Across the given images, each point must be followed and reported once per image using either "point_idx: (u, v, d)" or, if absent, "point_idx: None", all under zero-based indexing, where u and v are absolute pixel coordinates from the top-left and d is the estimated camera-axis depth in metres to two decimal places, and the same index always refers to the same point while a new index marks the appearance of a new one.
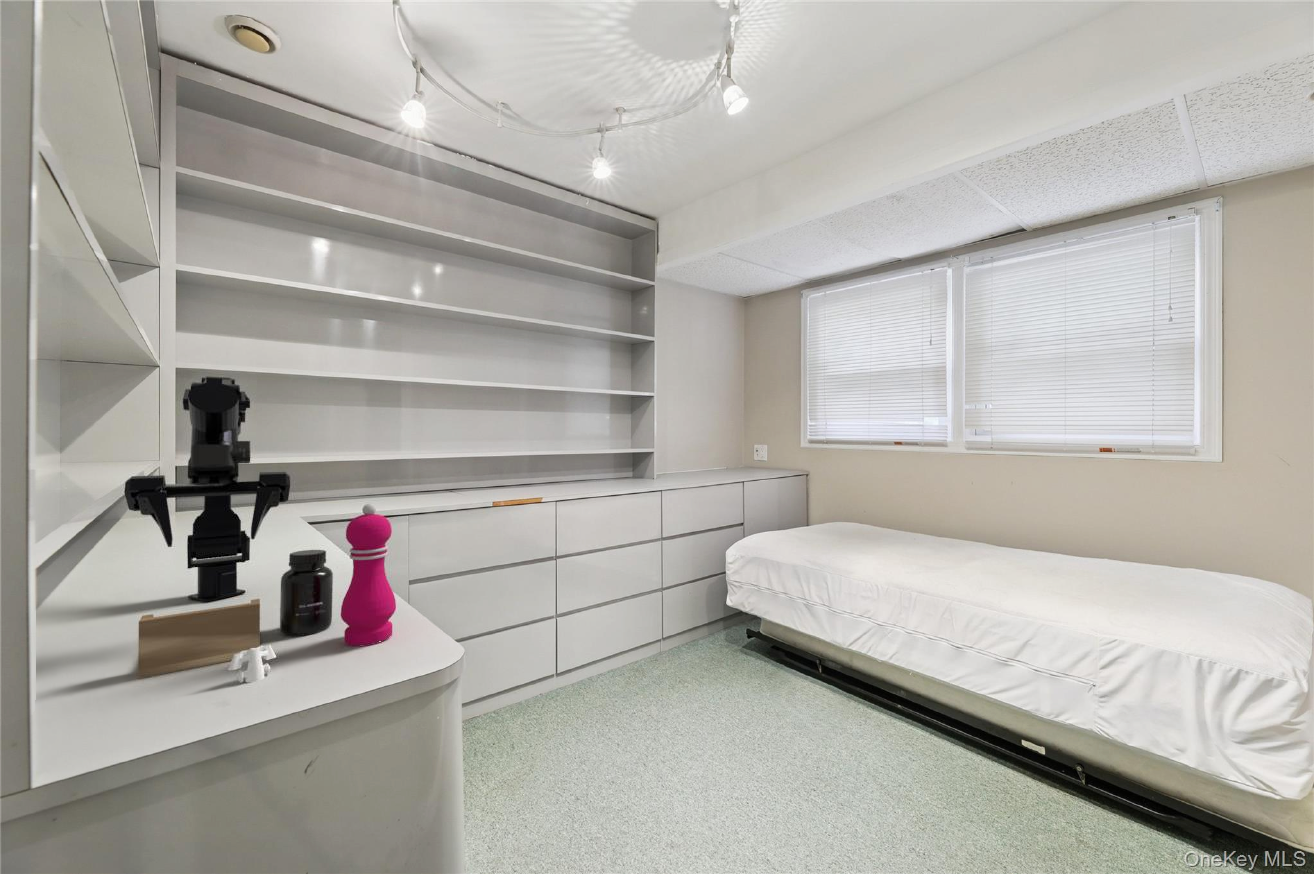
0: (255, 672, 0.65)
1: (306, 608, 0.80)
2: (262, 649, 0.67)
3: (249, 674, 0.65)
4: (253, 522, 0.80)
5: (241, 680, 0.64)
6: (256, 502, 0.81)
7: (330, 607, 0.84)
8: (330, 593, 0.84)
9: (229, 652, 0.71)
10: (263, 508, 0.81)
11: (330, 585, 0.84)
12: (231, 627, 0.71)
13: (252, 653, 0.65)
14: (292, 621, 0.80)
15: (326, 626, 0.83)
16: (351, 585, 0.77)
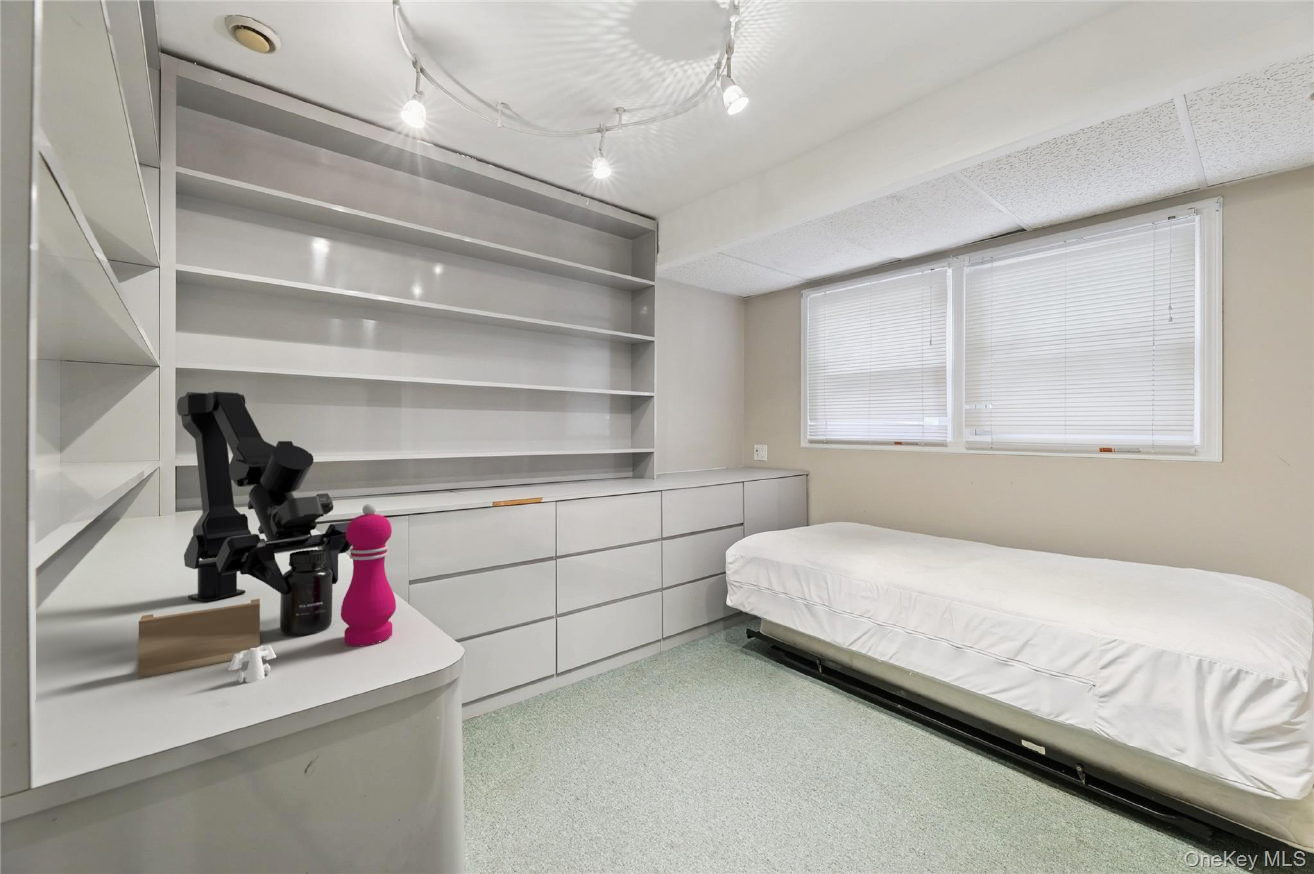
0: (255, 672, 0.65)
1: (306, 608, 0.80)
2: (262, 649, 0.67)
3: (250, 674, 0.65)
4: (333, 568, 0.86)
5: (241, 680, 0.64)
6: (330, 550, 0.87)
7: (330, 607, 0.84)
8: (330, 593, 0.84)
9: (229, 652, 0.71)
10: (337, 555, 0.88)
11: (330, 585, 0.84)
12: (231, 627, 0.71)
13: (252, 653, 0.65)
14: (292, 621, 0.80)
15: (326, 626, 0.83)
16: (351, 585, 0.77)
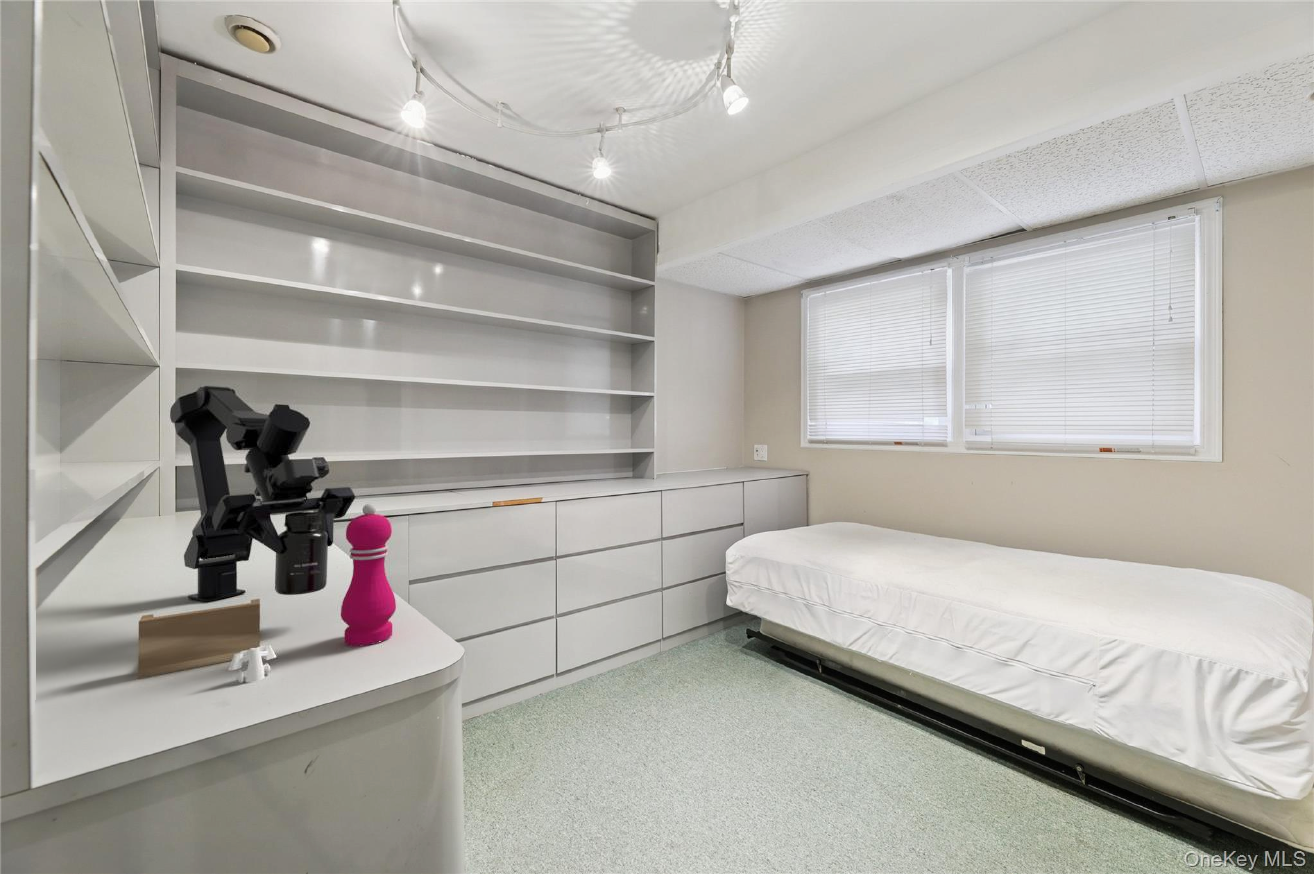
0: (255, 672, 0.65)
1: (301, 568, 0.81)
2: (262, 649, 0.67)
3: (250, 674, 0.65)
4: (328, 530, 0.87)
5: (241, 680, 0.64)
6: (325, 513, 0.88)
7: (325, 568, 0.84)
8: (325, 554, 0.84)
9: (229, 652, 0.71)
10: (332, 518, 0.88)
11: (325, 546, 0.84)
12: (231, 627, 0.71)
13: (252, 653, 0.65)
14: (287, 580, 0.80)
15: (321, 587, 0.83)
16: (351, 585, 0.77)
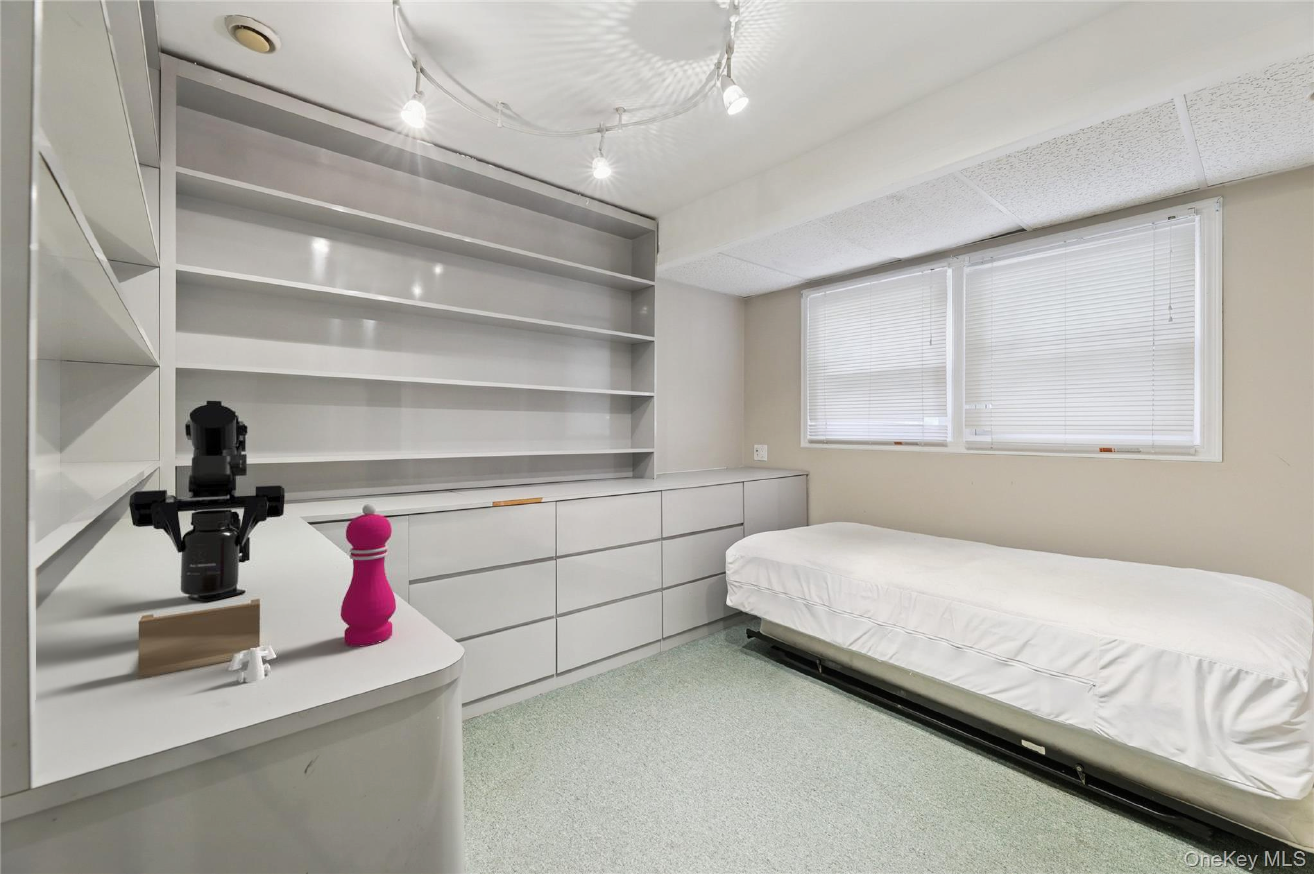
0: (255, 672, 0.65)
1: (196, 568, 0.78)
2: (262, 649, 0.67)
3: (250, 674, 0.65)
4: (241, 530, 0.84)
5: (241, 680, 0.64)
6: (244, 512, 0.85)
7: (229, 570, 0.81)
8: (229, 555, 0.81)
9: (229, 652, 0.71)
10: (251, 517, 0.85)
11: (228, 547, 0.81)
12: (231, 627, 0.71)
13: (252, 653, 0.65)
14: (184, 579, 0.79)
15: (222, 589, 0.80)
16: (351, 585, 0.77)
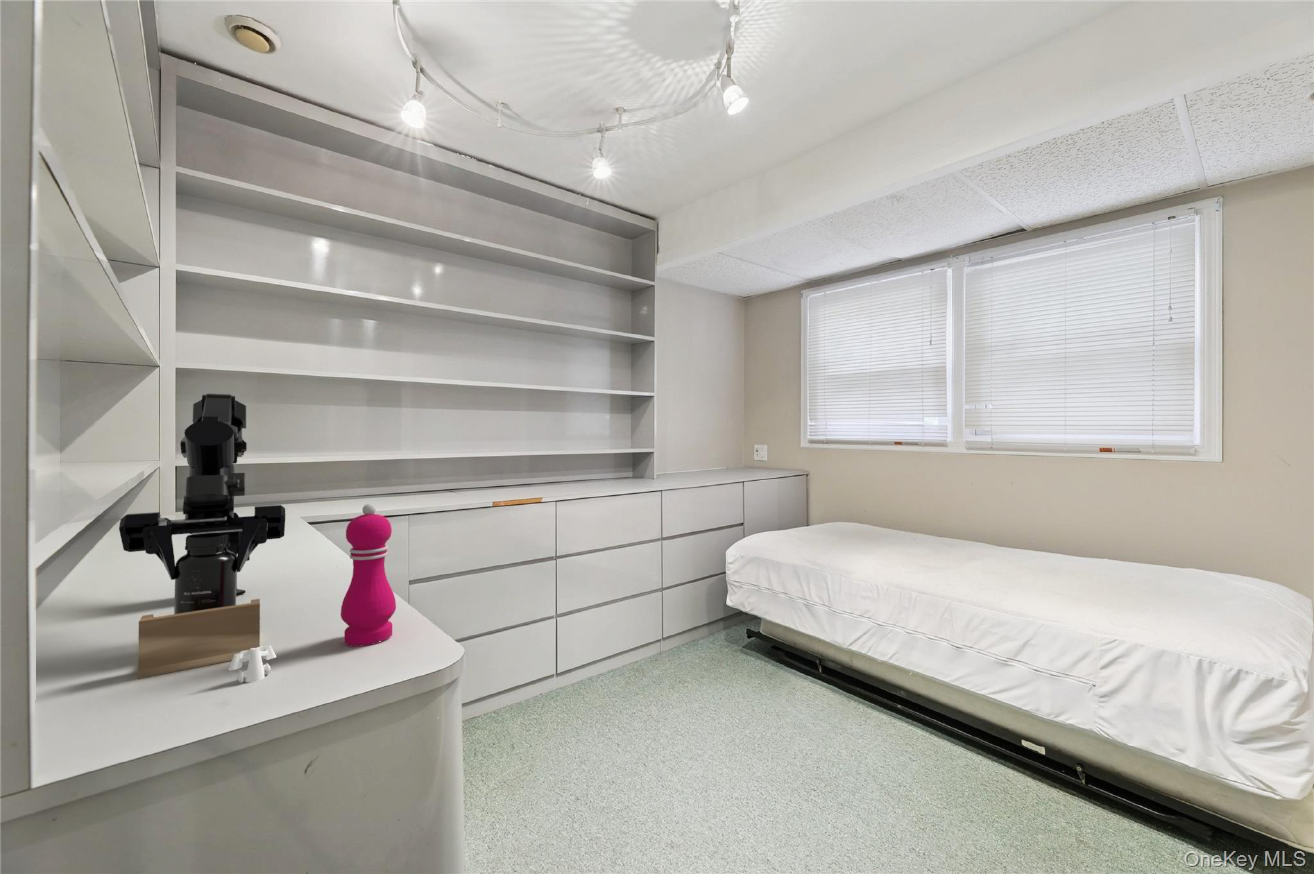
0: (255, 672, 0.65)
1: (190, 596, 0.73)
2: (262, 649, 0.67)
3: (250, 674, 0.65)
4: (239, 554, 0.78)
5: (241, 680, 0.64)
6: (242, 535, 0.80)
7: (226, 597, 0.76)
8: (225, 582, 0.76)
9: (229, 652, 0.71)
10: (249, 540, 0.80)
11: (225, 573, 0.76)
12: (231, 627, 0.71)
13: (252, 653, 0.65)
14: (178, 608, 0.73)
15: None
16: (351, 585, 0.77)
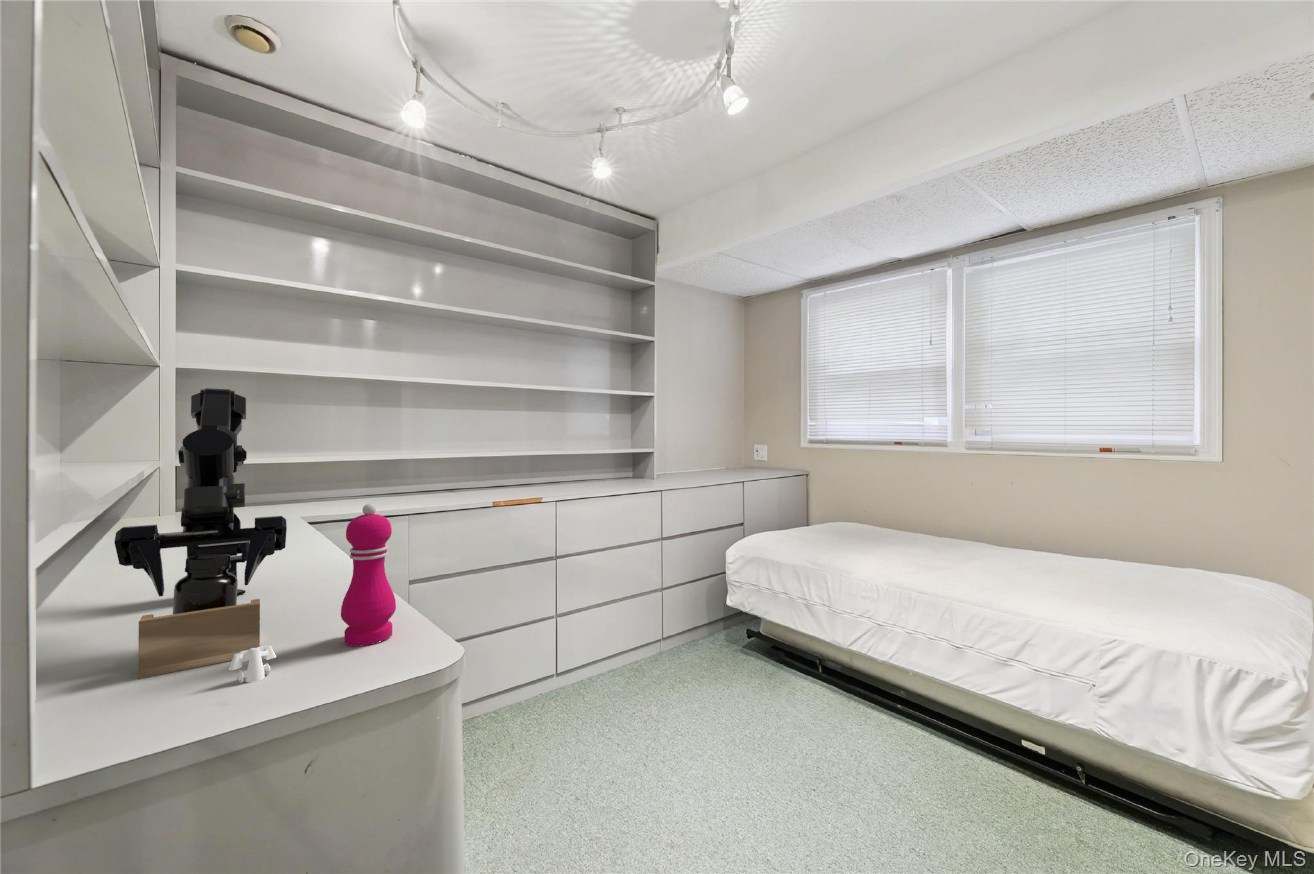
0: (255, 672, 0.65)
1: None
2: (262, 649, 0.67)
3: (250, 674, 0.65)
4: (247, 567, 0.77)
5: (241, 680, 0.64)
6: (250, 547, 0.78)
7: None
8: (225, 605, 0.74)
9: (229, 652, 0.71)
10: (257, 552, 0.78)
11: (225, 596, 0.74)
12: (231, 627, 0.71)
13: (252, 653, 0.65)
14: None
15: None
16: (351, 585, 0.77)
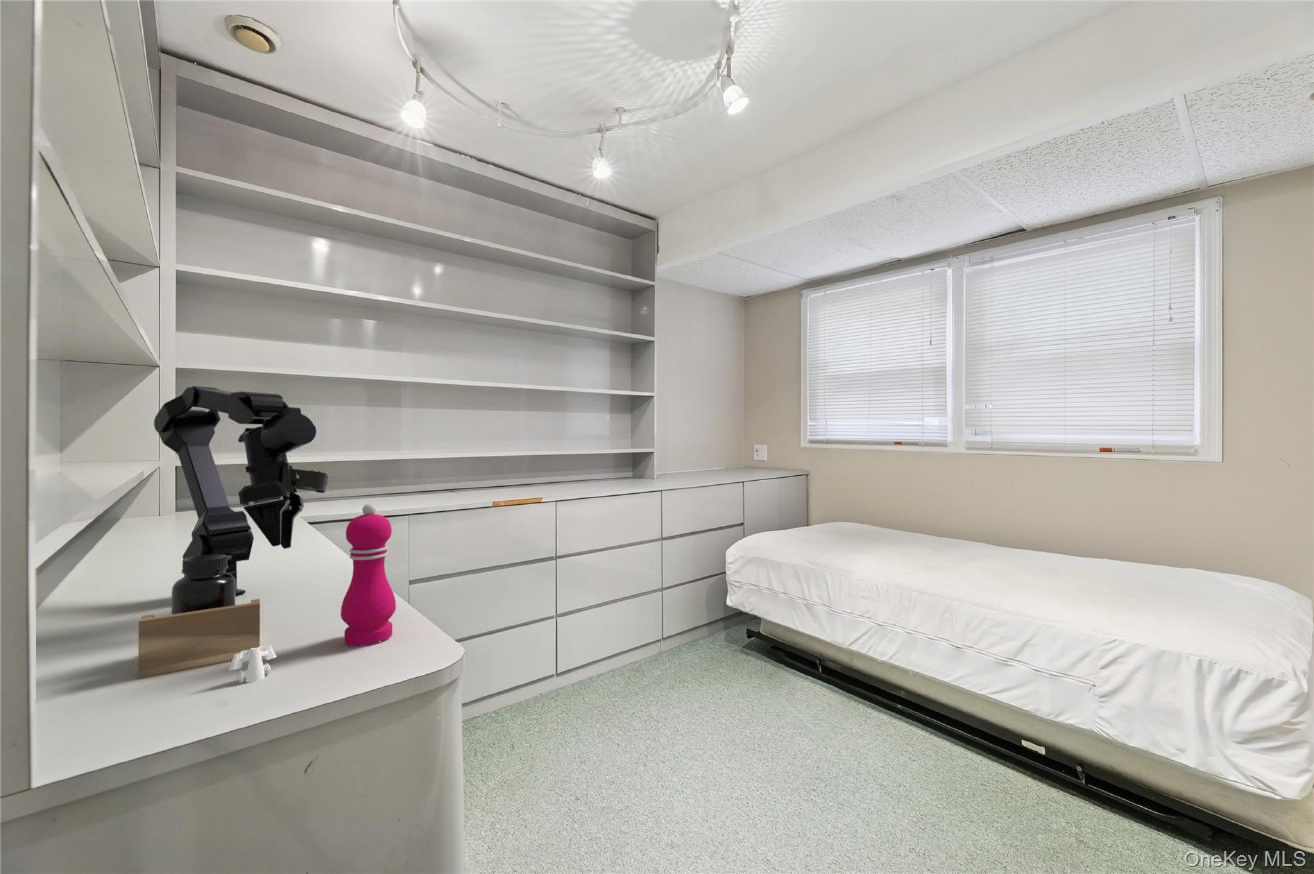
0: (255, 672, 0.65)
1: None
2: (262, 649, 0.67)
3: (250, 674, 0.65)
4: (291, 535, 0.97)
5: (241, 680, 0.64)
6: (292, 518, 0.98)
7: None
8: (223, 606, 0.74)
9: (229, 652, 0.71)
10: (292, 524, 0.99)
11: (223, 597, 0.73)
12: (231, 627, 0.71)
13: (252, 653, 0.65)
14: None
15: None
16: (351, 585, 0.77)
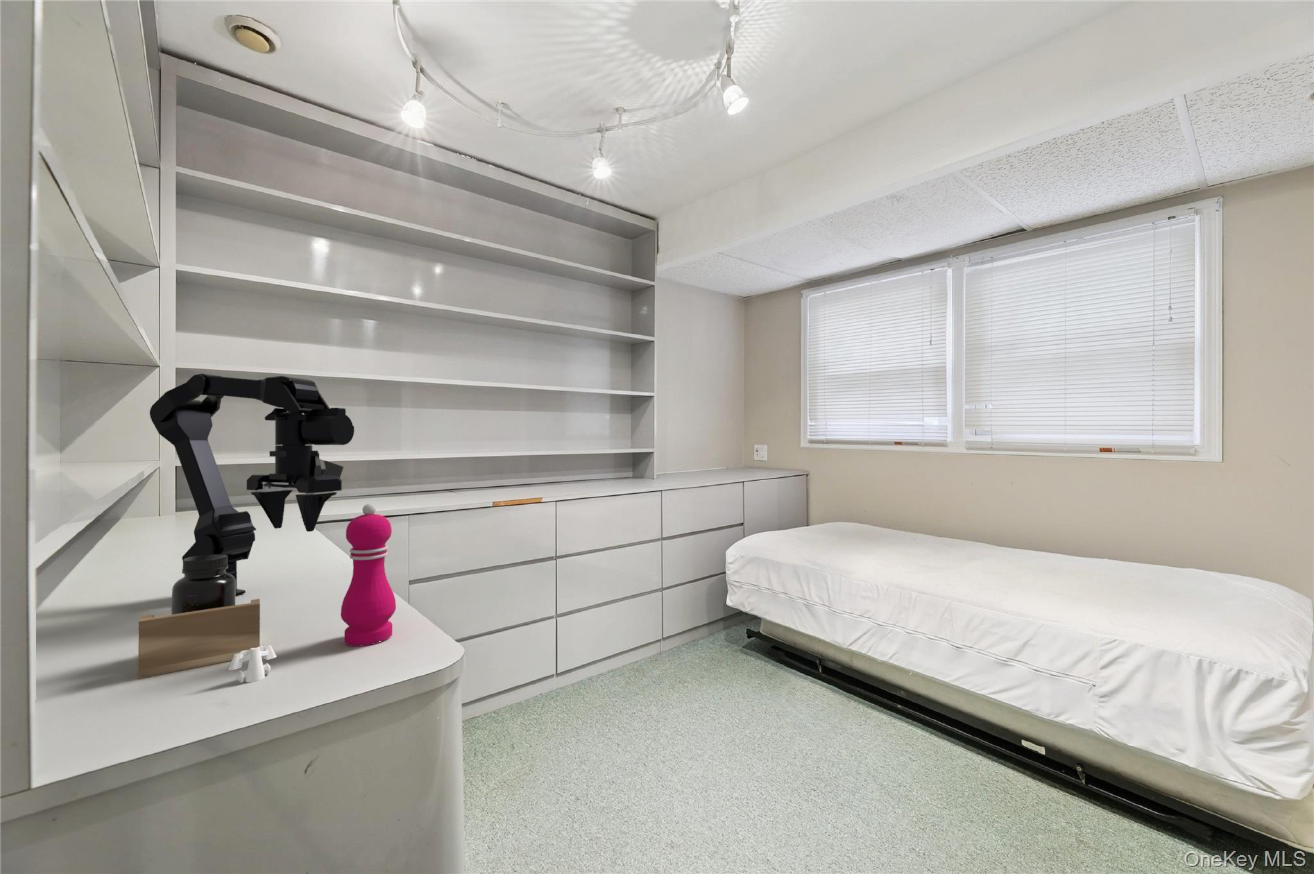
0: (255, 672, 0.65)
1: None
2: (262, 649, 0.67)
3: (250, 673, 0.65)
4: (282, 516, 1.01)
5: (241, 680, 0.64)
6: (284, 499, 1.02)
7: None
8: (223, 606, 0.74)
9: (229, 652, 0.71)
10: None
11: (223, 597, 0.73)
12: (231, 627, 0.71)
13: (252, 653, 0.65)
14: None
15: None
16: (351, 585, 0.77)
